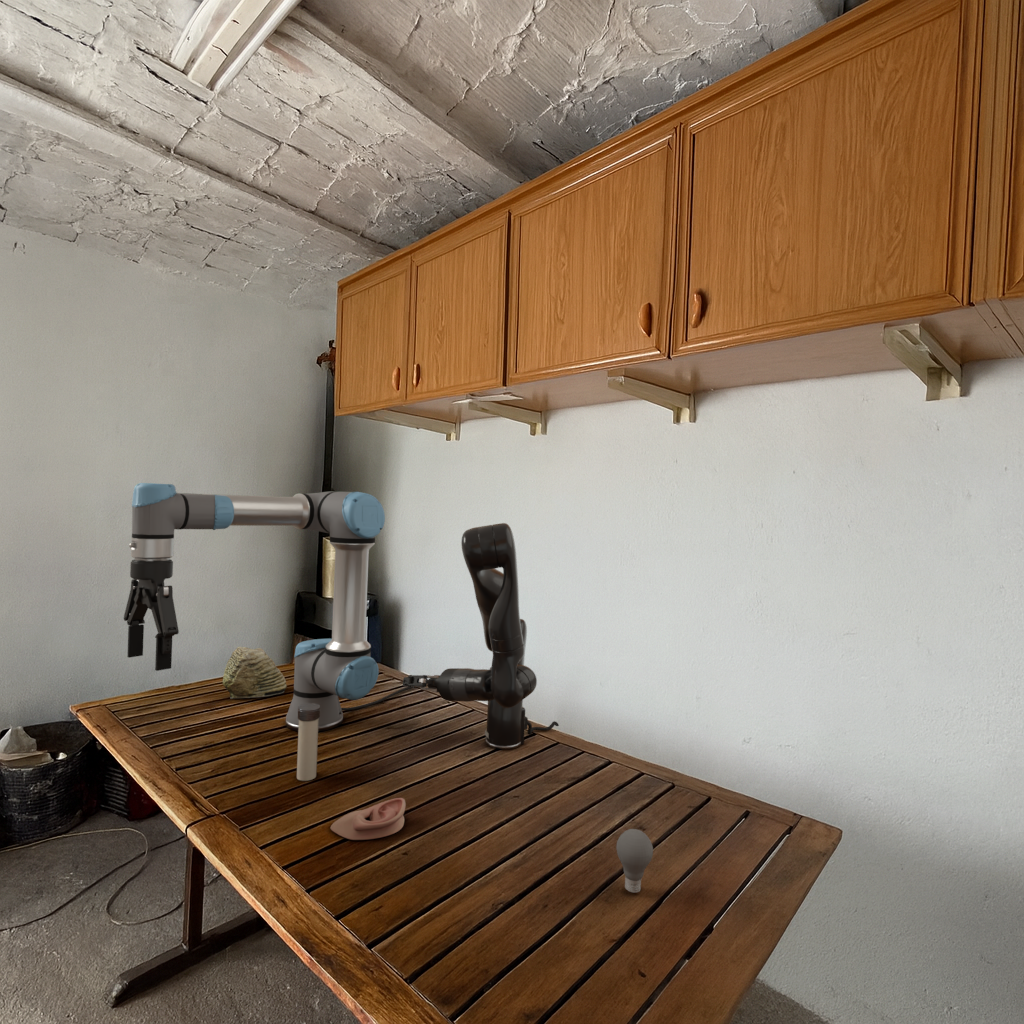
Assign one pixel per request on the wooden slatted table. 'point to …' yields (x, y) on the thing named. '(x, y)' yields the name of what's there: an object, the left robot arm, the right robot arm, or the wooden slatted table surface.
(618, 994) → the wooden slatted table surface
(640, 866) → the light bulb
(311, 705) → the lid
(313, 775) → the beige cylinder
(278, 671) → the fossil
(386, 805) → the anatomical model
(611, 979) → the wooden slatted table surface
